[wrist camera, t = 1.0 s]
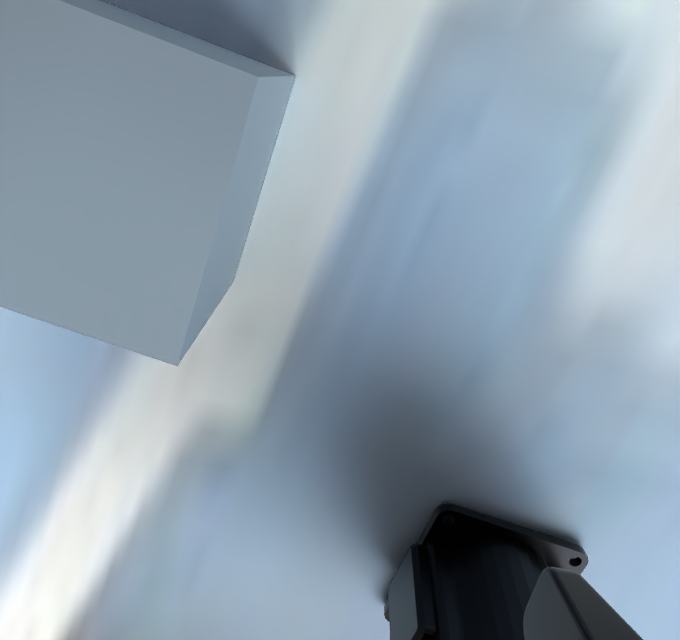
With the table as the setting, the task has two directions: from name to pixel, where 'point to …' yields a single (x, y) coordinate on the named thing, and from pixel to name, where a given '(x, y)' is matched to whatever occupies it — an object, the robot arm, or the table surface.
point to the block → (126, 170)
